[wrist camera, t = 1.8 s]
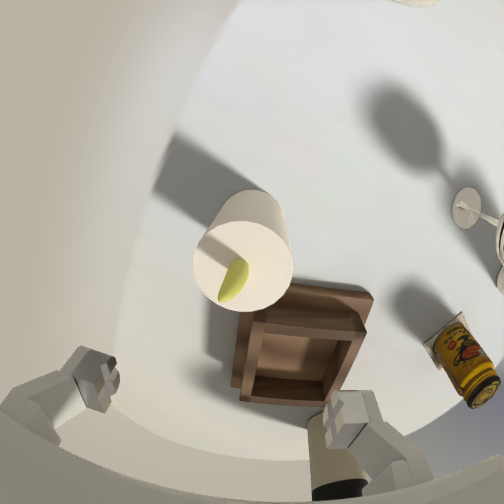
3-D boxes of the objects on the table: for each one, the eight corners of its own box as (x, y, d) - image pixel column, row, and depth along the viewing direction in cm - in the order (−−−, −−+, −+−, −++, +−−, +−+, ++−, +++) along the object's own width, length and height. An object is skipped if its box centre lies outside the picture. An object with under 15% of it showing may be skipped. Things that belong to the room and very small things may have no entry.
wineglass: (442, 236, 26) (507, 286, 15) (449, 176, 24) (526, 205, 13) (481, 236, 26) (543, 280, 15) (488, 182, 23) (559, 210, 12)
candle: (261, 264, 29) (254, 374, 15) (207, 229, 28) (152, 318, 14) (299, 215, 27) (330, 300, 13) (242, 176, 26) (211, 222, 12)
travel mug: (297, 427, 40) (301, 521, 24) (326, 403, 37) (340, 508, 21) (333, 435, 41) (344, 520, 25) (363, 412, 38) (383, 505, 22)
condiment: (461, 311, 30) (505, 366, 19) (473, 340, 32) (508, 391, 21) (422, 343, 32) (456, 406, 21) (438, 369, 34) (466, 424, 23)
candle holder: (245, 277, 30) (241, 303, 25) (370, 293, 30) (384, 318, 25) (231, 378, 36) (227, 407, 31) (330, 387, 36) (335, 414, 31)
